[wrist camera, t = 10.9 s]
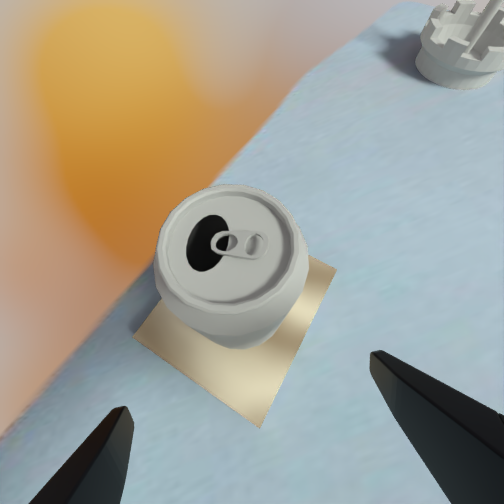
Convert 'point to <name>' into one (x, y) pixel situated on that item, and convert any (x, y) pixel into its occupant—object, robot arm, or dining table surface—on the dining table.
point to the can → (231, 264)
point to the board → (238, 350)
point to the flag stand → (462, 45)
